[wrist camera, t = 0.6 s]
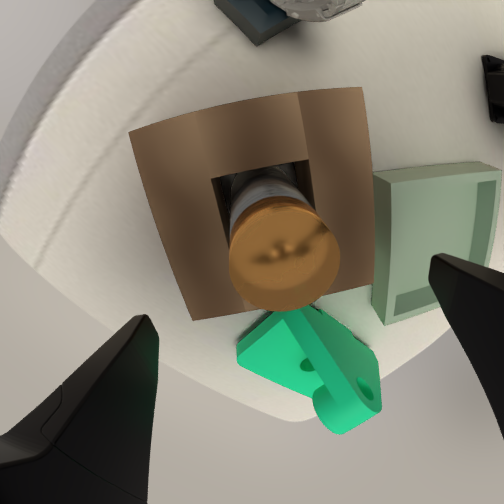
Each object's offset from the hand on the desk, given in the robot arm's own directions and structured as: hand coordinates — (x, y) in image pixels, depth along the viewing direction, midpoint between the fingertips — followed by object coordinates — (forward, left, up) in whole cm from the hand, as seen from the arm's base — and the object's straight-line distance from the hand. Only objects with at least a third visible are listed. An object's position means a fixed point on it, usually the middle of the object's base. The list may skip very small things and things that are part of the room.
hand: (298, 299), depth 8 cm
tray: (-14, +6, -12) cm, 19 cm away
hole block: (0, 0, -12) cm, 12 cm away
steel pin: (0, 0, -12) cm, 12 cm away
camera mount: (-2, +15, -13) cm, 20 cm away
